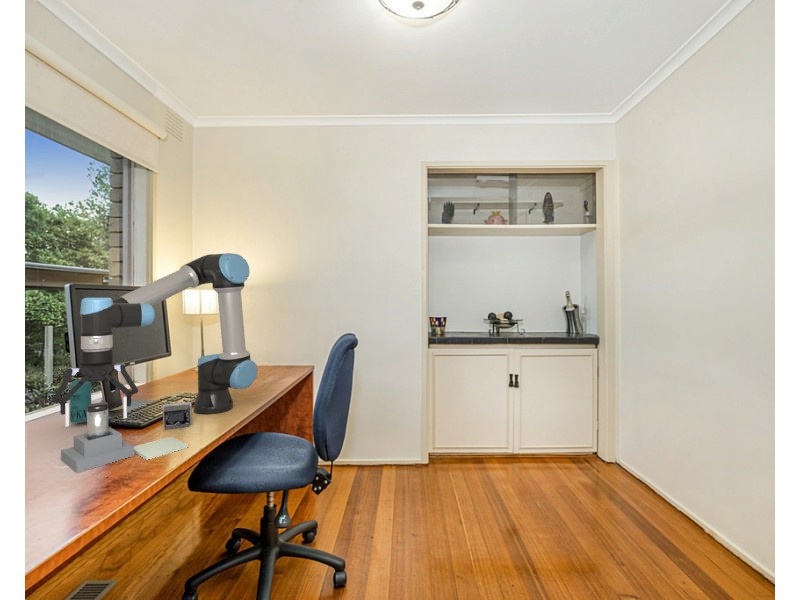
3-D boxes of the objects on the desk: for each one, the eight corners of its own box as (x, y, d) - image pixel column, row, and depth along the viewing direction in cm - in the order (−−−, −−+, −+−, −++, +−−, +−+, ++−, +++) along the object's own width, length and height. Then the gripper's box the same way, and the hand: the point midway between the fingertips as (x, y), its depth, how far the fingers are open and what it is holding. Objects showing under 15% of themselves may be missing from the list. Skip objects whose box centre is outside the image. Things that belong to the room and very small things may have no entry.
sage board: (170, 439, 135) (170, 436, 135) (188, 447, 128) (188, 444, 128) (130, 450, 126) (130, 447, 126) (146, 460, 118) (146, 457, 118)
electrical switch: (192, 424, 151) (191, 400, 150) (191, 429, 146) (190, 405, 145) (163, 427, 147) (162, 402, 146) (161, 433, 143) (160, 408, 142)
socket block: (116, 445, 130) (116, 424, 129) (134, 456, 121) (134, 433, 121) (61, 460, 118) (60, 436, 118) (76, 473, 110) (76, 447, 110)
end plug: (104, 443, 123) (104, 401, 123) (111, 447, 120) (110, 404, 120) (84, 448, 119) (84, 405, 119) (90, 453, 116) (90, 408, 116)
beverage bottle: (73, 422, 152) (73, 369, 151) (94, 420, 154) (94, 368, 154) (66, 428, 146) (65, 373, 145) (88, 426, 148) (88, 372, 147)
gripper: (38, 354, 109) (39, 432, 109) (147, 348, 123) (147, 417, 123) (43, 351, 115) (44, 425, 116) (146, 345, 129) (146, 411, 129)
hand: (97, 421), depth 119 cm, fingers open, 13 cm apart
